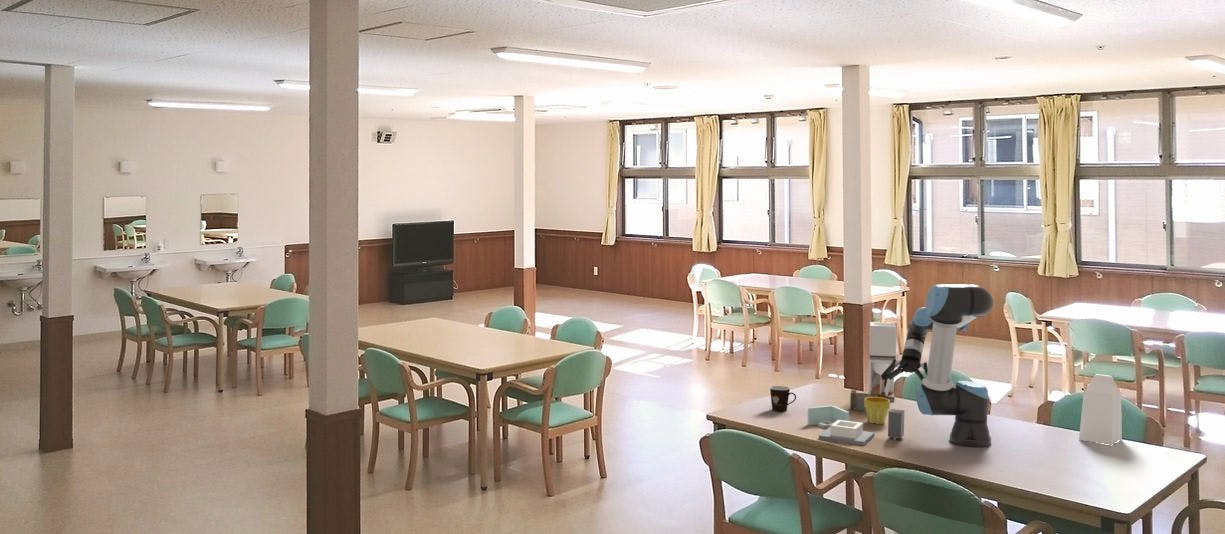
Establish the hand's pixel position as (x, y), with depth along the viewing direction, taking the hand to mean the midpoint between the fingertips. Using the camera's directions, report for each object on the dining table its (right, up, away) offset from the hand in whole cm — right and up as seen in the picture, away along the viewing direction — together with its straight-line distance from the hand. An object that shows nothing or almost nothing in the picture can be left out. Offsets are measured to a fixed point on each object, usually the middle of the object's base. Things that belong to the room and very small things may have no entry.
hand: (903, 395), depth 384 cm
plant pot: (-6, -14, +17) cm, 23 cm away
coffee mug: (-43, -12, +36) cm, 57 cm away
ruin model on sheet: (-6, -12, +38) cm, 40 cm away
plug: (-5, -16, -8) cm, 18 cm away
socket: (-24, -16, -7) cm, 30 cm away
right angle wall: (-28, -15, +10) cm, 33 cm away
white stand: (+8, -10, +60) cm, 61 cm away
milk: (+74, -16, -10) cm, 77 cm away
